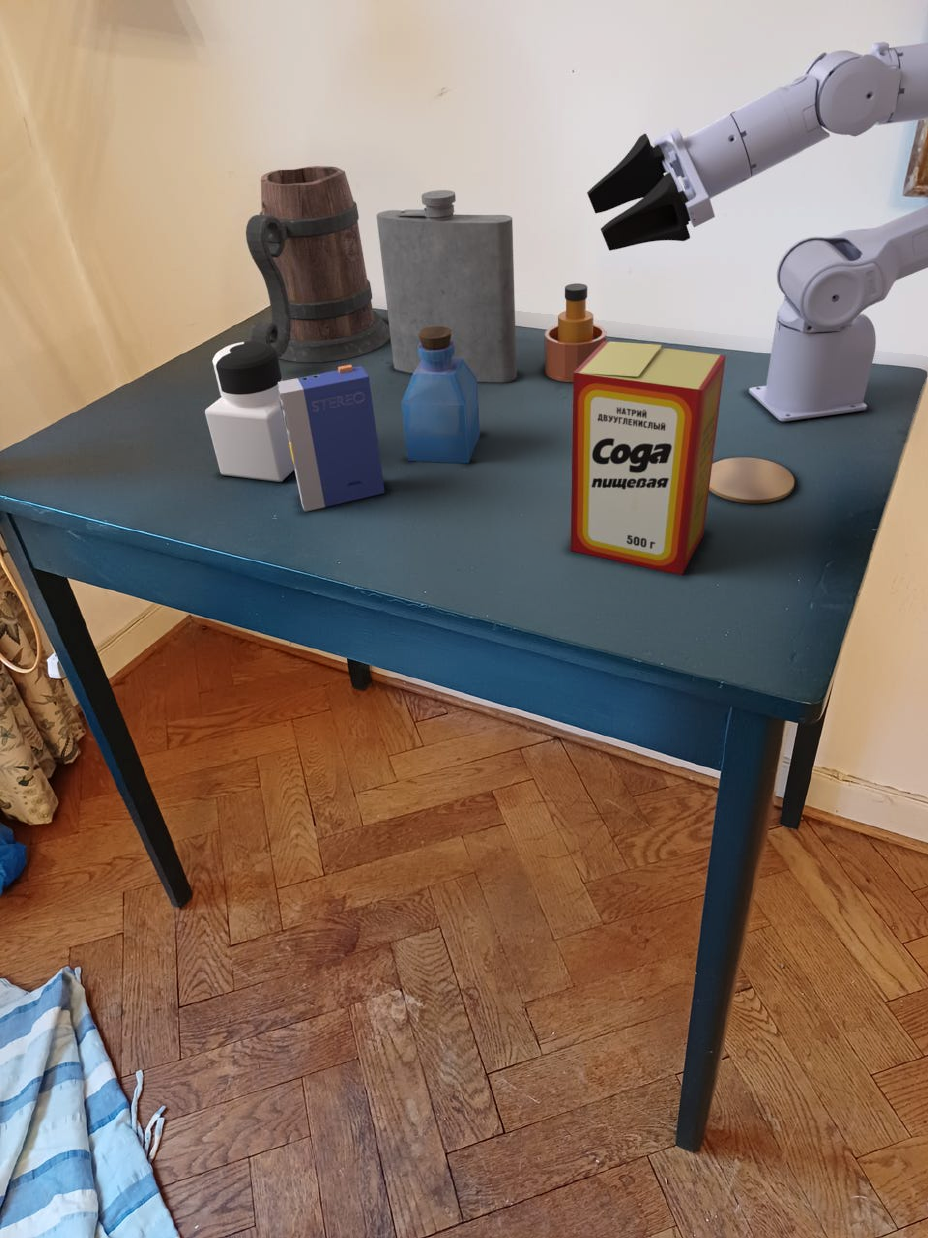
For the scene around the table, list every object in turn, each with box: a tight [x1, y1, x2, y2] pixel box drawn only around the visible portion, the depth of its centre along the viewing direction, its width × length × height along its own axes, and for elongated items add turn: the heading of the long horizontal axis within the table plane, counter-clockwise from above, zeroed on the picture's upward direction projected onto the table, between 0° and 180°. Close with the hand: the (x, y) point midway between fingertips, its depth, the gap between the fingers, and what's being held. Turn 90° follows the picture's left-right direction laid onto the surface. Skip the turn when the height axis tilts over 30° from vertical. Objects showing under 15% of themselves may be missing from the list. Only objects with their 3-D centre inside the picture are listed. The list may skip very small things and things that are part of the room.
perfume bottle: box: [401, 326, 481, 464], centre depth 87 cm, size 6×6×12 cm
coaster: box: [709, 456, 795, 505], centre depth 81 cm, size 8×8×1 cm
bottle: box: [557, 282, 594, 343], centre depth 101 cm, size 4×4×9 cm
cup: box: [543, 323, 608, 383], centre depth 103 cm, size 7×7×4 cm
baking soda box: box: [570, 340, 727, 576], centre depth 70 cm, size 10×6×16 cm
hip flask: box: [376, 189, 518, 384], centre depth 100 cm, size 16×4×20 cm, turn 66°
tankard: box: [245, 165, 391, 363], centre depth 109 cm, size 24×17×20 cm
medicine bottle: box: [204, 341, 295, 483], centre depth 87 cm, size 7×7×12 cm
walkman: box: [278, 364, 386, 512], centre depth 80 cm, size 8×3×12 cm, turn 110°
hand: (597, 220), depth 83 cm, fingers open, 7 cm apart
